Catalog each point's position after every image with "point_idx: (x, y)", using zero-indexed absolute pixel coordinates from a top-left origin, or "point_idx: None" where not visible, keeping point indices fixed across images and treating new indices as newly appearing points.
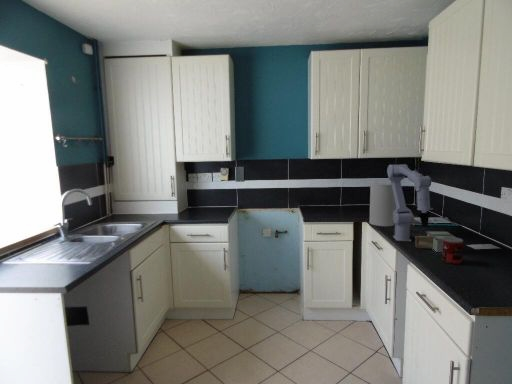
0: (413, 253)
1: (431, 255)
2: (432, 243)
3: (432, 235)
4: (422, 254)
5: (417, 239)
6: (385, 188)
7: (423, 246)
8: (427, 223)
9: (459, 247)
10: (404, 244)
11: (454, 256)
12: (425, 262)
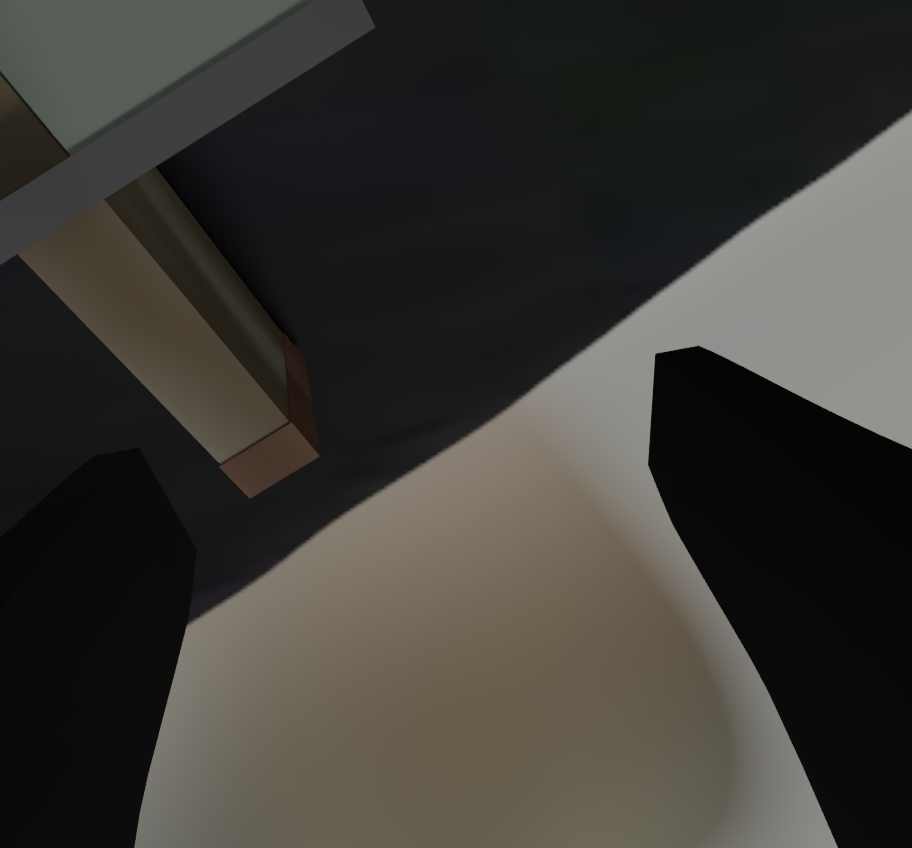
0: (525, 327)
1: (495, 82)
2: None
3: (83, 183)
4: (511, 215)
5: (306, 417)
6: None
7: (232, 280)
8: (799, 405)
9: None
10: None
11: None
12: (817, 107)
